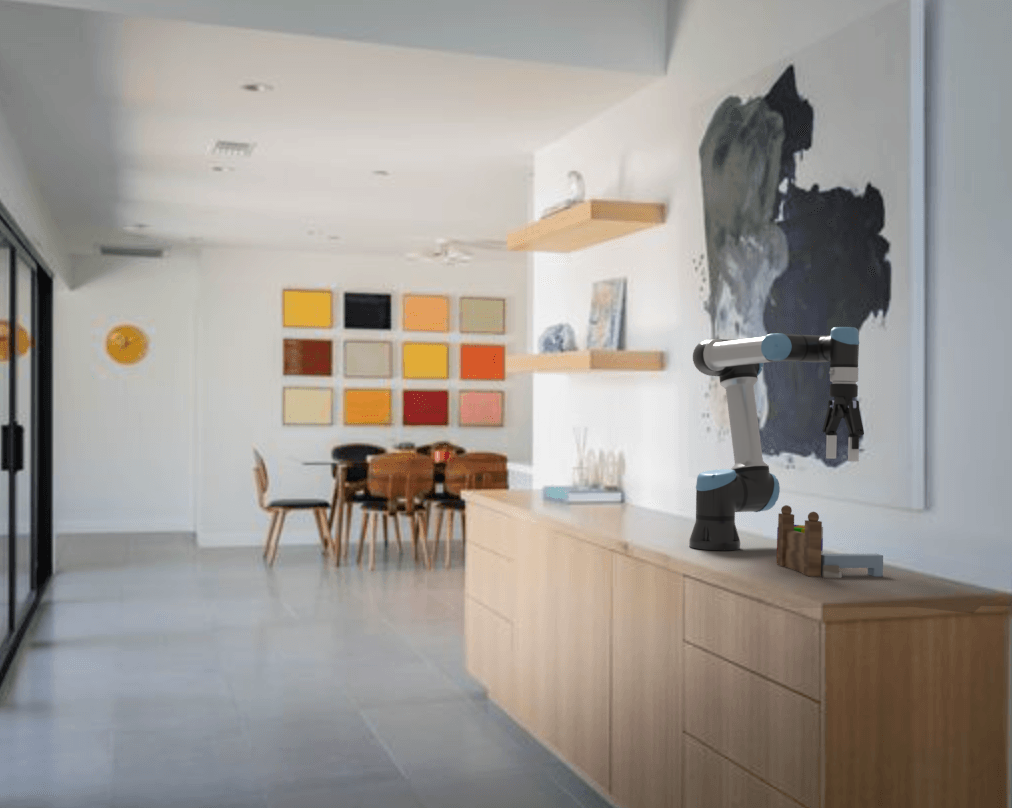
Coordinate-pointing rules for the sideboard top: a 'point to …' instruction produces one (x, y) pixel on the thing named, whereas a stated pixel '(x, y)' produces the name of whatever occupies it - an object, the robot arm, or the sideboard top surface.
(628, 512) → the sideboard top surface
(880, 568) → the rail
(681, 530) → the sideboard top surface
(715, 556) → the sideboard top surface
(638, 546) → the sideboard top surface
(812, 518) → the headboard
